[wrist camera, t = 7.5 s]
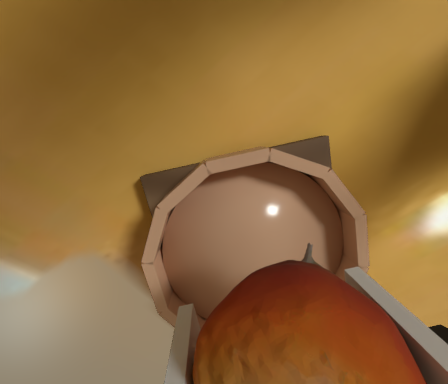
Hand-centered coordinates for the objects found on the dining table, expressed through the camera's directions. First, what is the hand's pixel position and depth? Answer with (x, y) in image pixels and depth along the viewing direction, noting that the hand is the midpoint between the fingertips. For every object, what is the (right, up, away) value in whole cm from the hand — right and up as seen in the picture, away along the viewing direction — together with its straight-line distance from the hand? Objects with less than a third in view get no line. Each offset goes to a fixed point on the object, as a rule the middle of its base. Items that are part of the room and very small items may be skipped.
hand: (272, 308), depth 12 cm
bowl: (0, +2, +6) cm, 6 cm away
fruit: (0, 0, 0) cm, 1 cm away
